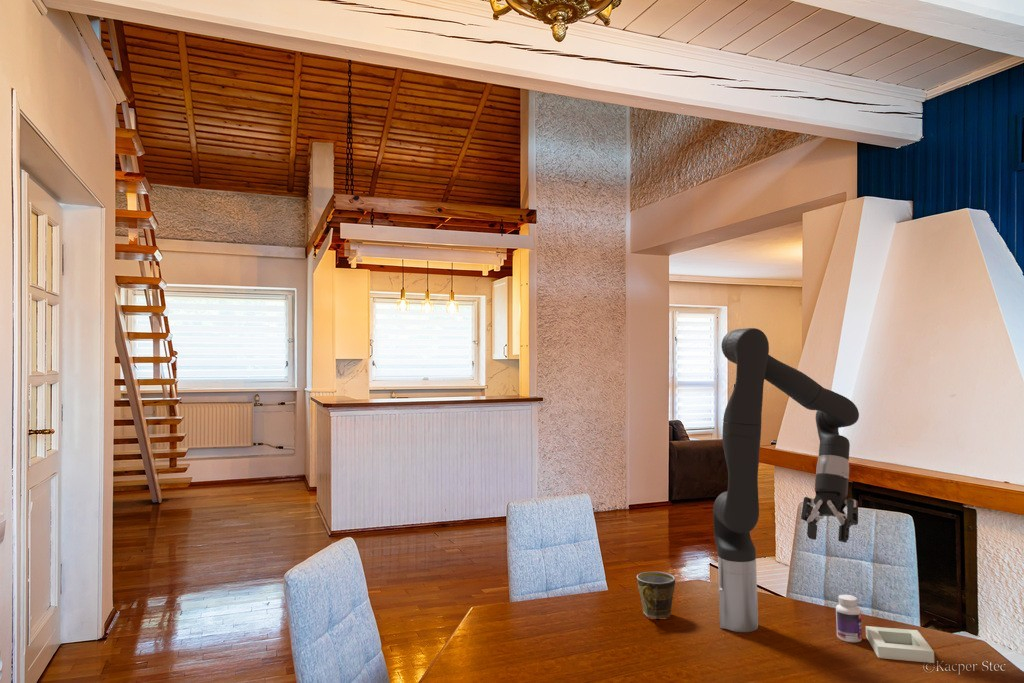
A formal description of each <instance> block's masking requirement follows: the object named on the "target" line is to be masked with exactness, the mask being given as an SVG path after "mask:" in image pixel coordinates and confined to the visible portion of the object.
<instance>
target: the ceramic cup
mask: <svg viewBox="0 0 1024 683" xmlns="http://www.w3.org/2000/svg"><path fill="white" fill-rule="evenodd" d="M636 581H637V587H638V588H637V589H638V592H639V596H640V602H641V607H642V611H643V615H644V614H645V615H646V616H647V617H651V618H656V619H660V618H667V617H668V618H670V616H671V612H672V605H673V598H674V594H675V586H676V577H675V576H674V575H672V574H670V573H668V572H664V571H663V572H662V571H645V572H640V573H638V574H637V575H636ZM645 615H644V616H645ZM646 616H645V617H646ZM647 617H646V618H647ZM668 618H667V619H668Z"/></svg>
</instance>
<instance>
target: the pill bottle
mask: <svg viewBox="0 0 1024 683" xmlns="http://www.w3.org/2000/svg"><path fill="white" fill-rule="evenodd" d="M838 603H839V604H838ZM838 603H837V605H836V606H835V617H836V619H835V620H836V621H835V622H836V637H837V638H838V639H839V640H841V641H844V642H846V643H859V642H862V640H863V631H862V630H863V629H862V628H863V627H862V611H861V608H860V607H859V606H858V598H857V597H856V596H854V595H850V594H840V595H838Z"/></svg>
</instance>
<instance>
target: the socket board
mask: <svg viewBox="0 0 1024 683" xmlns="http://www.w3.org/2000/svg"><path fill="white" fill-rule="evenodd" d="M865 637H866V638H867V640H868V642H869V644H870V646H871V648H872V649H873V651H874V653H875V654H876V656H877V658H878V659H886V660H887V659H888V660H896V661H897V660H898V661H908V662H920V663H930V664H935V651H934V649H932V647H931V646H930V645H929V643H928V641H926V639H925V638H924V637H923V635H922V634H921V633H920V632H919V630H918V629H909V628H908V629H906V628H905V629H904V628H896V627H895V628H893V627H881V626H871V625H870V626H868V625H865Z"/></svg>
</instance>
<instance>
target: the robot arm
mask: <svg viewBox="0 0 1024 683" xmlns="http://www.w3.org/2000/svg"><path fill="white" fill-rule="evenodd" d="M769 344H770V343H769V340H768V337H767V335H766V334H765V333H764V331H763V330H761V329H759V328H754V327H747V328H737V329H734V330H730V331H729V332H727V333H726V334H725V335H724V336H723V338H722V341H721V345H720V346H721V352H722V354H723V355H724V358H726V359H727V360H728V361H729V362H730V363H733V364H735V365H736V371H735V374H736V375H735V376H736V377H735V383H734V388H733V391H732V393H731V394H730V395H731V396H730V397H729V399H728V402H727V404H726V406H725V410H724V413H723V419H722V421H723V422H722V435H721V436H722V448H723V452H724V459H725V461H726V468H727V473H728V477H727V479H728V481H727V491H723V492H721V493H720V494H719V495H718V496H717V497H716V499H715V501H714V503H713V508H712V520H713V521H712V522H713V534H714V535H713V536H714V543H715V546H716V550H717V567H718V568H717V569H718V570H717V571H718V572H717V573H718V606H719V610H718V611H719V612H718V614H719V629H726V630H728V631H731V632H736V633H751V632H754V631H757V630H758V628H759V611H758V609H759V608H758V581H757V580H758V577H757V552H756V551H757V549H756V546H755V544H754V543H753V541H752V536H751V534H750V533H751V532H752V531H753V530H754V529H755V527H756V526H757V524H758V522H759V519H760V518H759V517H760V504H759V503H760V501H759V483H758V482H759V481H758V480H759V479H758V477H759V465H760V464H759V463H760V448H761V439H762V438H761V437H762V414H763V413H762V411H763V401H764V400H763V399H764V385H765V384H764V383H765V381H767V382H768V383H769V384H771V385H772V386H774V387H776V388H777V389H778V390H780V392H783V393H784V394H785V395H787V396H788V397H790V398H791V399H792V400H793V401H795V402H796V403H798V404H799V405H800V406H802V407H803V408H804V409H806V410H809V411H816V412H815V423H816V428H817V434H818V438H819V448H818V458H817V462H816V472H815V479H814V480H815V482H814V492H815V496H814V498H810V497H808V496H804V498H803V503H802V510H801V516H800V518H801V520H803V521H805V522H806V523H807V530H806V536H807V537H808V539H810V540H817V534H818V523H819V522H820V521H821V520H823V519H824V517H834V518H836V519H837V520H838V522H839V523H840V525H838V541H839V542H841V543H845V544H846V543H847V541H849V539H850V538H849V535H850V528H851V527H852V526H857V525H858V524H859V501H858V500H856V499H854V498H851V497H848V498H847V496H848V493H849V492H848V491H849V478H850V477H849V476H850V462H849V459H850V448H851V447H850V446H851V445H850V440H849V439H848V438H847V436H843V435H840V433H839V429H840V428H846V427H847V428H848V427H851V426H854V424H856V423H857V422H858V421H859V417H860V413H859V409H858V407H857V405H856V404H855V403H854V402H853V401H852V400H850V398H848V397H846V396H844V395H842V394H839V393H838V392H835V391H833V390H831V389H829V388H825V387H823V386H822V385H821V384H819V383H818V382H817V381H815V380H814V379H813V378H811V377H810V376H809V375H807V374H806V373H804V372H802V371H800V370H799V369H796V368H794V367H793V366H790V365H788V364H786V363H783V362H782V361H780V360H778V359H776V358H775V357H774V356H771V355H770V354H769V353H770V352H769V351H770V349H769V348H770V346H769ZM845 509H846V511H845ZM846 512H847V513H846Z"/></svg>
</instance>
